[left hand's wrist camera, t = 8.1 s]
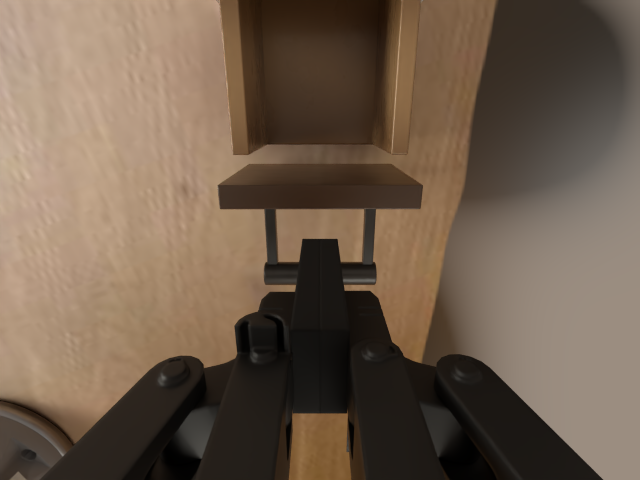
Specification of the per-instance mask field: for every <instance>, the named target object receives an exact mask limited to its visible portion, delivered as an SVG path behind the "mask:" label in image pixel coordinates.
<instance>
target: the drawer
mask: <svg viewBox="0 0 640 480" xmlns="http://www.w3.org/2000/svg"><path fill="white" fill-rule="evenodd" d="M219 4H220V16H221V27H222V39H223V50H224V62H225V74H226V85H227V97H228V108H229V120H230V131H231V143H232V154H233V155H249V154H251V153H252V152H254V151H256V150H258V149H260V148H262V147H264V146H265V145H267V144H373V145H375V146H377V147H379V148H381V149H383V150H384V151H386V152H388V153H390V154H392V155H406V154H408V145H409V134H410V122H411V110H412V98H413V87H414V75H415V63H416V52H417V40H418V28H419V16H420V5H421V0H219ZM422 189H423V185H422V184H420V183H419V182H417V181H416V180H414V179H413V178H411V177H410V176H408V175H407V174H405V173H404V172H402V171H401V170H399V169H398V168H396V167H395V166H393V165H392V164H249V165H247V166H246V167H244V168H243V169H241V170H240V171H238V172H237V173H235V174H234V175H232V176H231V177H229V178H228V179H226V180H225V181H223V182H222V183H220V184H219V185H218V195H219V205H220V209H264V210H265V227H266V244H267V261H268V262H266V263H265V266H264V282H265V285H296V283H297V276H298V269H299V262H278V242H277V221H276V209H364V228H363V250H362V262H341V269H342V276H343V283H344V285H375V283H376V275H377V274H376V264H375V262H373V250H374V233H375V215H376V209H420V208H421V199H422Z"/></svg>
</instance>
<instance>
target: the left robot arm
mask: <svg viewBox="0 0 640 480" xmlns="http://www.w3.org/2000/svg"><path fill="white" fill-rule="evenodd" d="M235 335H236V345H237V356H236V358H235V359H233V360H231V361H229V362H227V363H224V364H220V365H216V366H212V367H208V368H204V366H203V363H202V362H201V361H200V360H199V359H197V358H195V357H192V356H177V357H173V358H169V359H167V360H164V361H162V362H160V363H158V364H157V365H156V366H154V367H153V368H152V369H150V370H149V371H148V372H147V373H146V374H145V375H144V376H143V377H142V378H141V379H140V380H139V381H138V382H137V383H136V384H135V385H134V386H133V387H132V388H131V389H130V390H129V391H128V392H127V393H126V394H125V395H124V396H123V397H122V398H121V399H120V400H119V401H118V402H117V403H116V404H115V405H114V406H113V407H112V408H111V409H110V410H109V411H108V412H107V413H106V414H105V415H104V416H103V417H102V418H101V419H100V420H99V421H98V422H97V423H96V424H95V425H94V426H93V427H92V428H91V429H90V430H89V431H88V432H87V433H86V434H85V435H84V436H83V437H82V438H81V439H80V440H79V441H78V442H77V443H76V444H75V445H74V446H73V445H72V444H71V442H70V441H69V440H68V438H67V437H66V436H65V435H64V434H63V433H62V432H61V431H60V430H59V429H58V428H57V427H56V426H54V425H53V424H52V423H50V422H49V421H47V420H46V419H44V418H43V417H41V416H39V415H38V414H36V413H34V412H32V411H30V410H27V409H25V408H23V407H20V406H17V405H14V404H11V403H7V402H3V401H0V480H289V468H290V456H291V444H292V432H293V429H292V411H293V413H347V410H348V429H347V452H349V455H350V467H351V479H352V480H603V479H602V478H601V477H600V476H599V475H598V474H597V473H596V472H595V471H594V470H593V469H592V468H591V467H590V466H589V465H588V464H587V463H586V462H585V461H584V460H583V459H582V458H581V457H580V456H579V455H578V454H577V453H576V452H574V450H573V449H572V448H571V447H570V446H569V445H567V444H566V443H565V442H564V441H563V440H562V439H561V438H560V437H559V436H558V435H557V434H556V433H555V432H554V431H553V430H552V429H551V428H550V427H549V426H548V425H547V424H546V423H545V422H544V421H543V420H542V419H541V418H540V417H539V416H538V415H537V414H536V413H535V412H534V411H533V410H532V409H531V408H530V407H529V406H528V405H527V404H526V403H525V402H524V401H523V400H522V399H521V398H520V397H519V396H518V395H517V394H516V393H515V392H514V391H513V390H512V389H511V388H510V387H509V386H508V385H507V384H506V383H505V382H504V381H503V380H502V379H501V378H500V377H499V376H498V375H497V374H496V373H495V372H494V371H493V370H492V369H491V368H489V367H488V366H487V365H485V364H484V363H483V362H481V361H479V360H477V359H475V358H472V357H469V356H465V355H460V354H454V355H447V356H445V357H442V358H441V359H440V360H439V361H438V362H437V366H436V367H434V366H430V365H425V364H421V363H418V362H414V361H412V360H410V359H407V358H405V357H404V356H403V353H402V351H401V350H400V348H399V347H398V346H397V345H395V344H394V343H393V342H392V340H391V337H390V334H389V331H388V328H387V324H386V321H385V318H384V316H383V312H382V309H381V305H380V302H379V299H378V298H377V297H376V296H375V295H374V294H373V293H372V292H371V291H345V290H344V283H343V276H342V269H341V261H340V254H339V247H338V240H337V239H303V240H302V247H301V254H300V261H299V269H298V276H297V283H296V290H295V292H269V293H268V294H267V295H266V296H265V297H264V298H263V299H262V300H261V304H260V307H259V310H258V312H255V313H252V314H249V315H246V316H244V317H243V318H241V319H240V320H238V322H237V323H236V325H235Z"/></svg>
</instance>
